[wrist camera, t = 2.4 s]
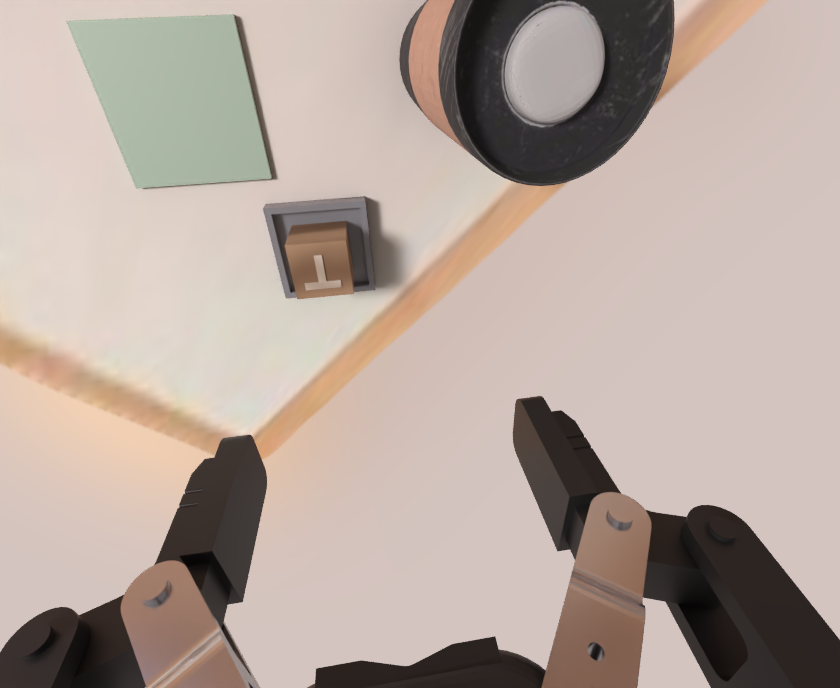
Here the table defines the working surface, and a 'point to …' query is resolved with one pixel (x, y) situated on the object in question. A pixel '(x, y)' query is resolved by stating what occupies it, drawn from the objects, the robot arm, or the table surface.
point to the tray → (322, 212)
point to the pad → (176, 97)
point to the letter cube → (320, 259)
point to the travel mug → (538, 78)
